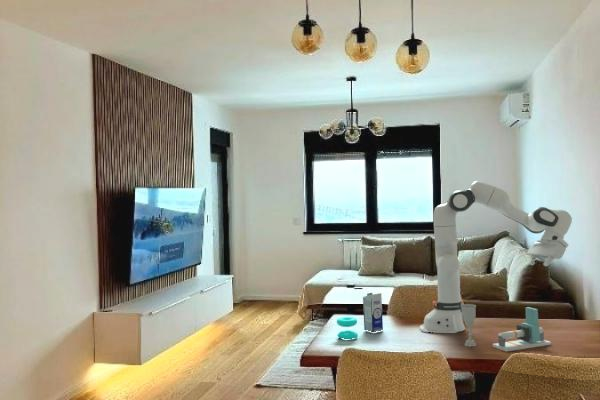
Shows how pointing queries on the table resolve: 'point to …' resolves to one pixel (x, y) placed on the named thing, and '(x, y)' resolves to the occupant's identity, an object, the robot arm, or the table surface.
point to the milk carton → (373, 312)
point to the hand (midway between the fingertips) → (538, 264)
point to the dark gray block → (525, 333)
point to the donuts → (347, 323)
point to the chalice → (469, 320)
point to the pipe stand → (518, 341)
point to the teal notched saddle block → (532, 324)
